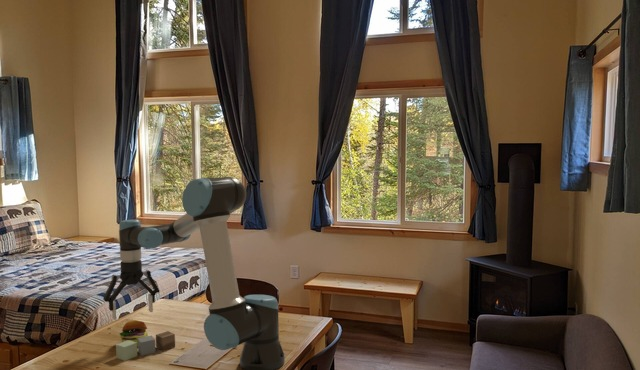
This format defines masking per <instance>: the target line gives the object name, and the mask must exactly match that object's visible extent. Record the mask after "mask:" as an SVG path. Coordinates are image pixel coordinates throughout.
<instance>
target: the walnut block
mask: <svg viewBox="0 0 640 370" xmlns="http://www.w3.org/2000/svg"><path fill="white" fill-rule="evenodd" d="M156 348H157V349H159V350H160V351H162V352H163V351H167V350H171V349H173V348H176V334H175V333H174V332H171V331H168V330H167V331H164V332H161V333H157V334H155V349H156Z"/></svg>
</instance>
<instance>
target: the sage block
mask: <svg viewBox="0 0 640 370" xmlns="http://www.w3.org/2000/svg"><path fill="white" fill-rule="evenodd" d="M115 351H116V353H115V354H116V359H119V360H121V361H124V362H126V361H128V360H131V359H134V358H136V357H138V347H137V342H133V341H130V340H127V341H124V342H122V341H121V342H118V343H116V344H115Z"/></svg>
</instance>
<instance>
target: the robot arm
mask: <svg viewBox="0 0 640 370" xmlns="http://www.w3.org/2000/svg"><path fill="white" fill-rule="evenodd" d="M246 199H247V190H246V188H245V186H244V184H243V183H242V182H241V181H240V180H239V179H237V178H235V177H232V176H223V177H222V176H221V177H219V176H218V177H217V176H216V177H215V176H214V177H200V178H195V179H192V180H191V181H189V182H188V183H187V184H186V186H185V188H184V190H183V192H182V197H181V200H182V201H181V202H182V207H183V210H184V211H185V212H186V213H185V214H183V215H182V216H180V217H179V218H177V219H176V220H174V221H173V222H171V223H167V224H166V223H165V224H159V225H152V226H142V225H141V221H140V220H139V219H123V220H121V221H120V222H119V225H118V226H119V228H118V229H119V230H118V234H119V235H118V236H119V238H118V239H119V253H120V254H119V259H120V274H117V275H116V274H112V275H111V281H110V283H109V285H108V287H107V289H106V292H105V294H104V296H103V301H104V302H105V303H108V310H109V311H110V312H111V317H112V319H113V320H117V307H116V306H117V304H116V303H117V302H116V301H115V300H116V299H117V298H118V296H119V295H120V293H121V292H122V290H123V289H124V288H126V286H132V285H137V284H139V285H141V286H142V288H144V289H145V290H146V291H147V292H148V293H149V294H148V295H147V296H148V297H147V299H148V303H147V304H148V312H149V313H153V311H154V306H153V304H155V302H156V298H155V297H156V294H158V293H160V289H159V287H158V285H157V284H156V282H155V280H154V279H153V277H152V275H151V271H150V270H149V269H146V270H144V271H143V266H142V265H143V264H142V263H143V262H142V260H141V259H142V248H144V249H148V250H149V249H153V250H154V249H157V248H158V247H159V246H164V245H169V244H175V243H182V242H184V241H188V240H189V239H190V237H191V235H192V234H193V233H195V232H197V231H198V230H199V231H200V237H201V243H202V250H203V254H204V261H205V266H206V272H207V276H208V282H209V283H208V284H209V288H210V295H211V300H212V301H211V303H210V305H209V306H208V313H209V315H208V316H207V317H206V318H205V320H204V322H203V332H204V334H205V336H206V339H207V340H208V343H210V345H212V346H213V347H214V348H215V349H217V350H220V351H227V350H229V349H234V348H236V347H238V346H240V345H241V344H243V347H242V350H241V354H240V356H239V366H240V368H241V369H242V370H277V369H280V368H282V367H283V366H284V365H285V361H286V360H285V353H284V350H283V347H282V344H281V341H280V337H279V336H280V332H279V329H280V328H279V326H280V325H279V323H280V322H279V304H278V300H277V298H276V296H272V295H267V294H248V295H244V296H243V297H242V296H241V295H240V291H239V286H238V285H239V284H238V280H237V274H236V267H235V262H234V257H233V253H232V252H233V251H232V246H231V245H232V244H231V239H230V234H229V229H228V228H229V227H228V223H227V222H228V220H229V219H230V217H231V214H233V212H235V211H237V210H239V209H240V208H241V207H242V206H243V205H244V204H245V202H246ZM143 276H144V277H145V278H147V281H148V282H149V284H150V285H151V287H152V288H153V289H151V287H150V286H149V285H147V284H146V283H145V281H144V280H143V279H142V278H143ZM119 280H121V281H120V283H119V284H118V286H117V287H116V285H117V282H118V281H119ZM115 287H116V288H115ZM114 288H115V290H114ZM113 290H114V291H113Z"/></svg>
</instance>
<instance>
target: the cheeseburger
mask: <svg viewBox="0 0 640 370" xmlns="http://www.w3.org/2000/svg"><path fill="white" fill-rule="evenodd" d="M147 329H148V326H147V324H146V323H145V322H144V321H139V320H130V321H126V322H125V324H124V325H123V326H122V329H121V332H120V333H119V337H120V339H121V340H120V341H121V342H124V341H127V340H130V341H133V342H137V348H138V338H142V337H146V336H149V334H148V331H147Z"/></svg>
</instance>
